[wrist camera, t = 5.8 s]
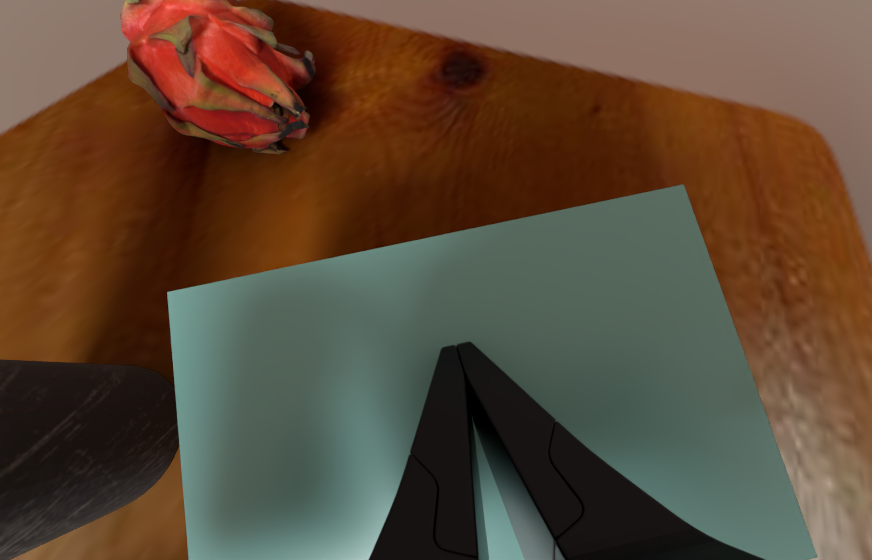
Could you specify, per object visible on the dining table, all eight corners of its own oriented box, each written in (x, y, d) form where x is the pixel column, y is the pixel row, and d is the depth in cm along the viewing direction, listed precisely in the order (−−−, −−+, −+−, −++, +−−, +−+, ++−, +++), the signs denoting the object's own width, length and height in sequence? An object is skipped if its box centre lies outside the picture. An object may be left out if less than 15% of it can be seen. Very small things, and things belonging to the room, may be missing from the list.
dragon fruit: (218, 83, 26) (335, 179, 25) (82, 94, 19) (235, 221, 19) (216, -58, 20) (369, 63, 19) (21, -107, 13) (239, 69, 13)
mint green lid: (778, 533, 9) (817, 557, 8) (226, 666, 9) (200, 706, 8) (661, 197, 11) (683, 184, 10) (192, 295, 11) (167, 292, 10)
